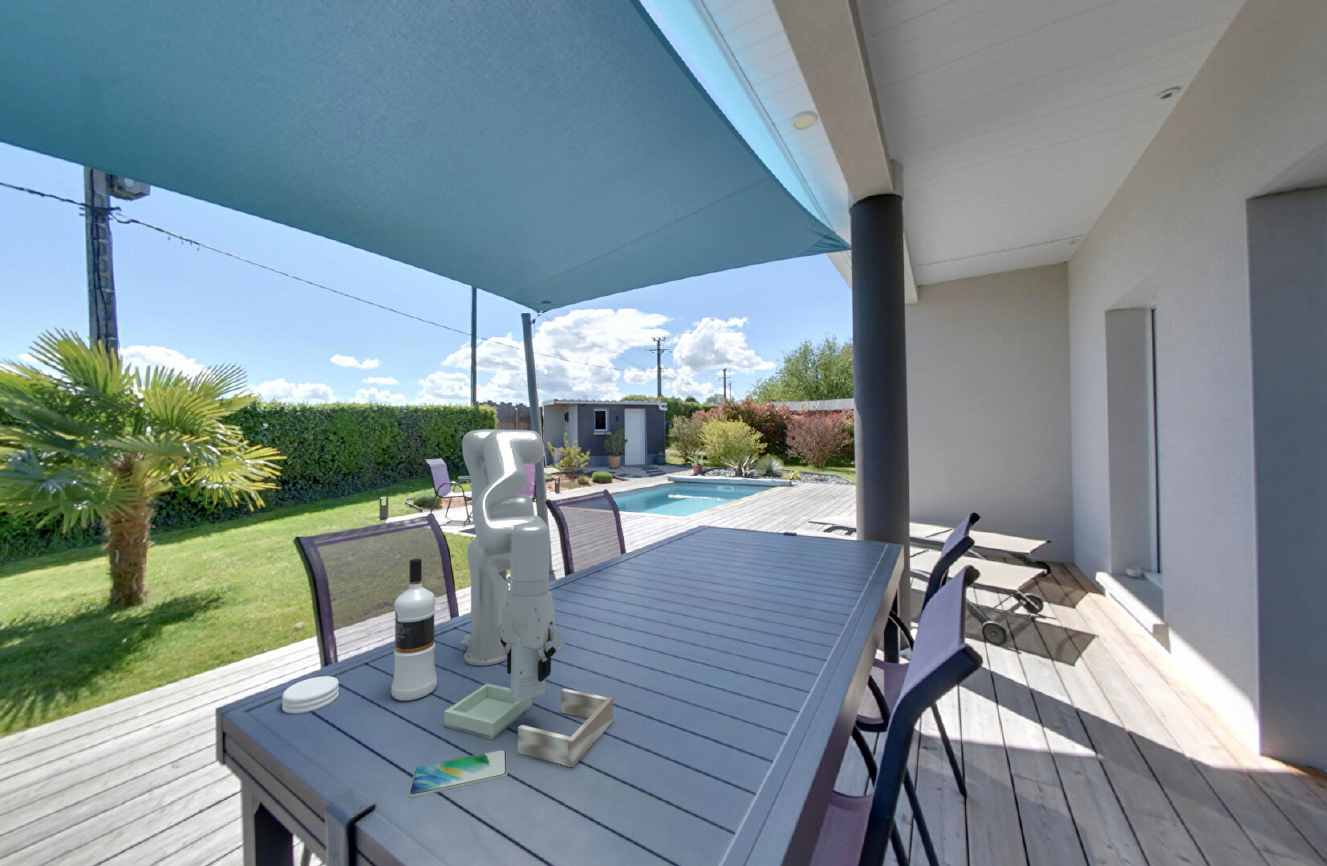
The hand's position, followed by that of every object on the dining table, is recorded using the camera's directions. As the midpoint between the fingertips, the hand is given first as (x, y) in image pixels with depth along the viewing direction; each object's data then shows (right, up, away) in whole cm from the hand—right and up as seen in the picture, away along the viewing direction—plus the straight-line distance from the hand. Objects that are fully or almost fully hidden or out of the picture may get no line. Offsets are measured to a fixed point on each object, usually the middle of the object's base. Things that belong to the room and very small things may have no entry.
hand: (528, 673), depth 96 cm
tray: (-9, -10, +3) cm, 14 cm away
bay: (+9, -10, -4) cm, 14 cm away
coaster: (-50, -11, +9) cm, 52 cm away
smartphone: (-8, -10, -14) cm, 19 cm away
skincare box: (0, -4, 0) cm, 4 cm away
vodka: (-29, -11, +13) cm, 34 cm away
